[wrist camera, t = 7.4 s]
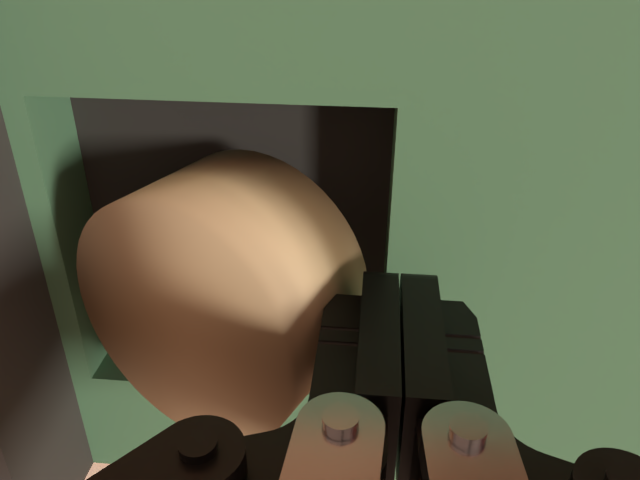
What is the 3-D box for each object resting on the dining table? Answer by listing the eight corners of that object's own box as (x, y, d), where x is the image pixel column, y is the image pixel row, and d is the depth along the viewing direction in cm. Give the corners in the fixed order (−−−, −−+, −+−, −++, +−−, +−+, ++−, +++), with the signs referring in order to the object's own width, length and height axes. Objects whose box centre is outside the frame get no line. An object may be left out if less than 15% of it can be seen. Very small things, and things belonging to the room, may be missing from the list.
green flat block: (-44, -90, 12) (-277, -87, 8) (1073, -83, 11) (1544, -74, 6) (83, 408, 19) (-5, 556, 15) (776, 461, 18) (905, 645, 13)
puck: (157, 131, 14) (50, 175, 12) (371, 173, 12) (286, 238, 9) (187, 324, 17) (105, 389, 15) (366, 392, 14) (300, 483, 12)
